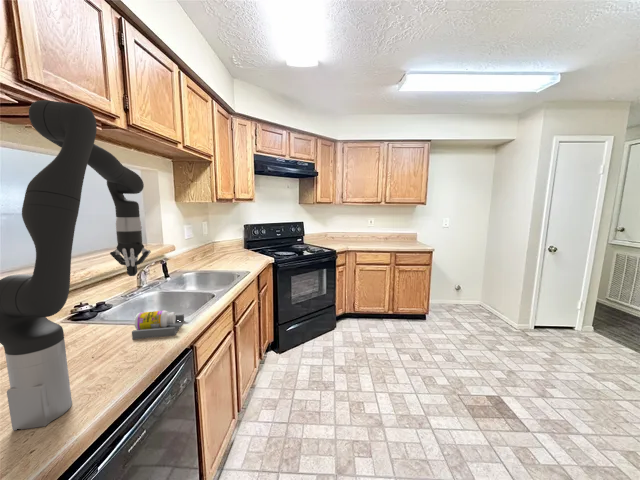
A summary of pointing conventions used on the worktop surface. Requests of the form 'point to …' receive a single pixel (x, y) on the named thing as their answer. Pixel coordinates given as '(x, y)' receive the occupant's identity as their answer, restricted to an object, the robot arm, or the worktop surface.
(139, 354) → the worktop surface
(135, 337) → the cradle tray
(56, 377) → the robot arm
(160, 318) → the supplement bottle
